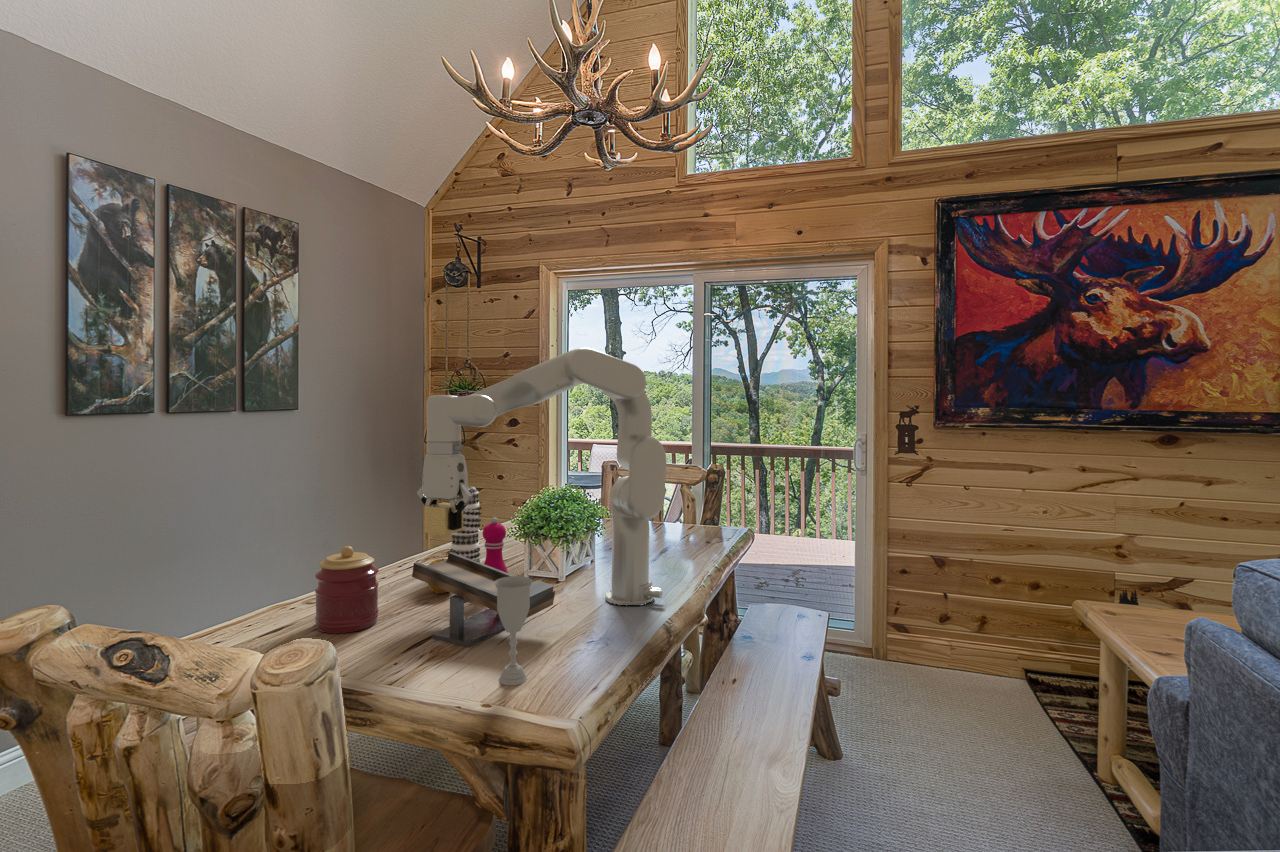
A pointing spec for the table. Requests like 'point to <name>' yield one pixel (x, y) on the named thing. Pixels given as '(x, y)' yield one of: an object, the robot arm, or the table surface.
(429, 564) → the apple
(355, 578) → the canister
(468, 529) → the decorative candle
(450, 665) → the table surface
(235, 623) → the table surface
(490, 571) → the beam
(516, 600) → the chalice
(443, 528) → the block
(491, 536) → the pepper mill
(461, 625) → the stand
